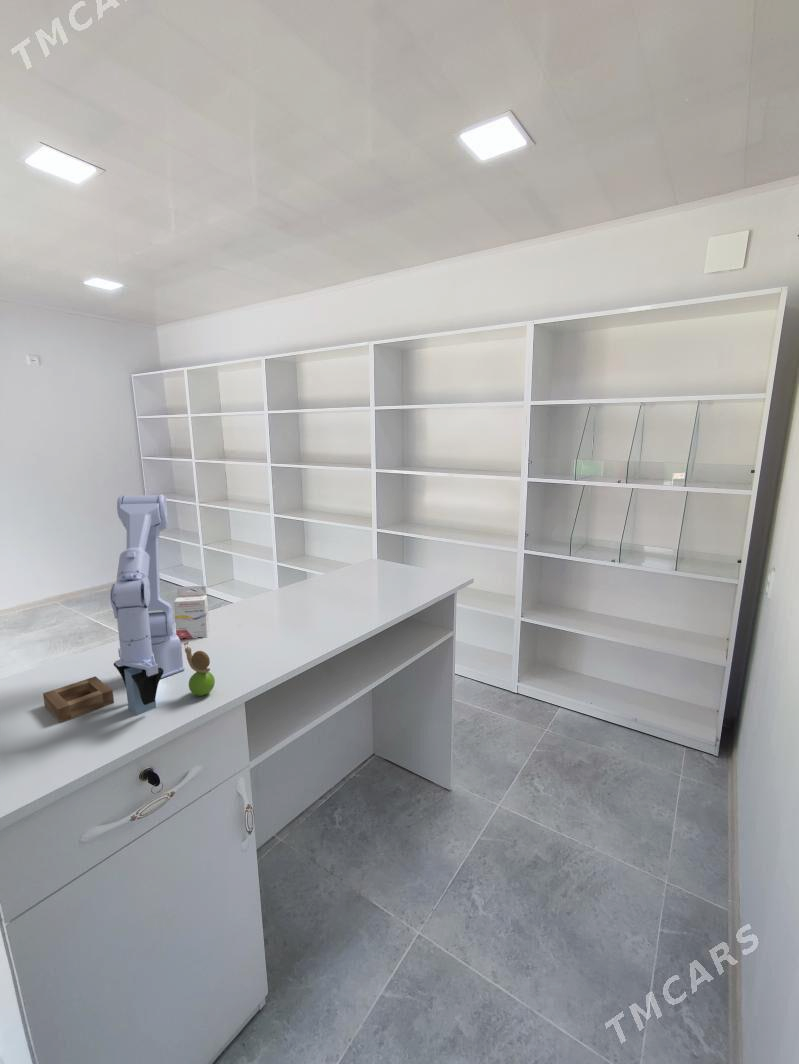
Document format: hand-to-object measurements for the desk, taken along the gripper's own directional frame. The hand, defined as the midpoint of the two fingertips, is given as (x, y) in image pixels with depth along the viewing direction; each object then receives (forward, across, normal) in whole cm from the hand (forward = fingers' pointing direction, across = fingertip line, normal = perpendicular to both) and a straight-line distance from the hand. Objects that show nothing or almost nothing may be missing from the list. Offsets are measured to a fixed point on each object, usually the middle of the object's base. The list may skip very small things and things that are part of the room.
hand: (141, 696), depth 101 cm
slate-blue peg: (+3, 0, 0) cm, 3 cm away
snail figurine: (+3, +4, +11) cm, 12 cm away
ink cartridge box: (+3, -30, +27) cm, 40 cm away
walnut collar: (+3, -12, -8) cm, 15 cm away
